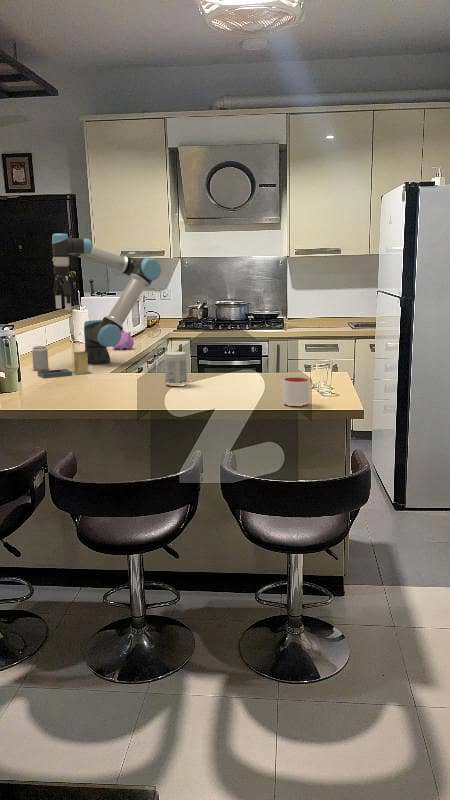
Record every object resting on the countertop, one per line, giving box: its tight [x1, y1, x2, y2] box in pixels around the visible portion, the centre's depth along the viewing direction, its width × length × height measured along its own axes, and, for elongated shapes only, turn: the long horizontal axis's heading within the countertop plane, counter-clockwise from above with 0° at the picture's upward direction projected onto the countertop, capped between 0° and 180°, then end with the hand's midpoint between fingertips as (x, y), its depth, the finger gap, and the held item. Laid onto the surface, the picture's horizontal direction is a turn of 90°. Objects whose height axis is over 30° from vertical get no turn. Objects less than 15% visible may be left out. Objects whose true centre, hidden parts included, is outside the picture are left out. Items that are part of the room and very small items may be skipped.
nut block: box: [73, 350, 89, 373], centre depth 306 cm, size 5×5×10 cm
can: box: [31, 345, 49, 372], centre depth 314 cm, size 8×8×12 cm
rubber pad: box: [72, 370, 93, 376], centre depth 307 cm, size 8×8×1 cm
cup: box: [282, 376, 310, 403], centre depth 239 cm, size 10×10×10 cm
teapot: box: [112, 329, 135, 351], centre depth 390 cm, size 20×14×12 cm
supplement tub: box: [164, 351, 188, 383], centre depth 275 cm, size 10×10×15 cm
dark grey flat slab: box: [37, 368, 73, 379], centre depth 299 cm, size 14×9×2 cm, turn 124°
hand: (63, 309), depth 309 cm, fingers open, 13 cm apart
